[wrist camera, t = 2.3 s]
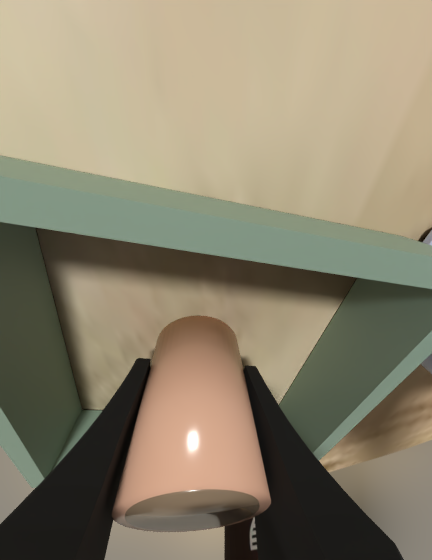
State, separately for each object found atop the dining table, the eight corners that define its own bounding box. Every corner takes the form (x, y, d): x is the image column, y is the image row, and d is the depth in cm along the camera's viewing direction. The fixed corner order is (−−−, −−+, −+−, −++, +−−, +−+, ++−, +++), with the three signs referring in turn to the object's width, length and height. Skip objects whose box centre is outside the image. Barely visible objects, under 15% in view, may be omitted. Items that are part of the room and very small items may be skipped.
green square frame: (402, 236, 10) (516, 272, 6) (279, 421, 18) (297, 481, 15) (-14, 152, 7) (-231, 133, 3) (70, 416, 15) (31, 487, 12)
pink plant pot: (246, 320, 12) (295, 484, 6) (227, 374, 14) (247, 529, 8) (158, 311, 11) (103, 489, 5) (155, 369, 13) (115, 537, 7)
